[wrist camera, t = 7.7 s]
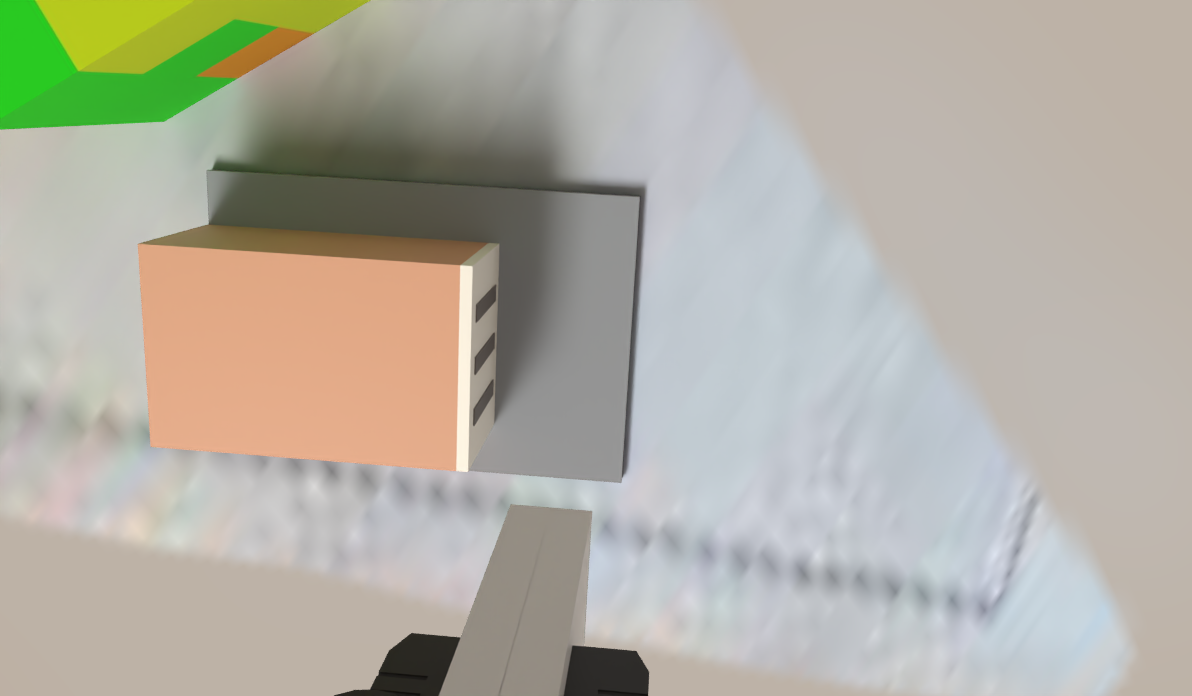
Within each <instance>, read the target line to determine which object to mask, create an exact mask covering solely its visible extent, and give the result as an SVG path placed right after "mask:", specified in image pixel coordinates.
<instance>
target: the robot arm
mask: <svg viewBox="0 0 1192 696" xmlns="http://www.w3.org/2000/svg"><path fill="white" fill-rule="evenodd" d="M591 521H592V511H585V510H572V509H560V508H548V507H536V506H524V505H512V504H511V505H510V508H509V511H508V513H507V516H506V519H505V521H504V524H503V526H502V529H501V532H500V534H499V537H498V540H497V542H496V545H495V548H494V550H493V553H492V556H491V558H490V561H489V564H488V566H487V569H486V572H485V574H484V577H483V580H482V582H481V585H480V588H479V590H478V593H477V596H476V598H475V601H474V604H473V606H472V609H471V611H470V614H469V617H468V619H467V622H466V625H465V627H464V630H463V633H462V635H461V638H459V637H448V636H437V635H425V634H414V633H411V634H410V635H408V636H407V637H406V638H405V639H403V640H402V641H401V642H400V643H398V644H397V645H396V646H395V647H393V648H392V649H391V650H389V652H388V654H387V656H386V658H385V660H384V662H383V664H382V667H381V668H380V670H379V675H378V676H377V677H376V679H375V681H374V683H373V685H372V687H371V689H370V690H353V691H350V692H346V693H342V694H338V695H335V696H648V684H649V671H648V669H647V668H646V666H645V665H644V663H643V661H642V660H641V658H640V656H639V655H638V653H637V651H629V650H618V649H607V648H596V647H585V646H584V639H585V622H586V605H587V589H588V572H589V555H590V538H591Z"/></svg>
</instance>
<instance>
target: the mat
mask: <svg viewBox="0 0 1192 696" xmlns="http://www.w3.org/2000/svg"><path fill="white" fill-rule="evenodd" d="M206 171H207V193H208V215H209V225H223V226H238V227H254V228H269V229H284V230H300V231H315V232H330V233H346V234H361V235H376V236H392V237H407V238H422V239H438V240H453V241H468V242H483V243H499V277H498V311H497V346H496V380H495V414H494V425H493V427H492V429H491V431H490V433H489V435H488V436H487V438H486V440H485V442H484V444H483V446H482V447H481V449H480V451H479V453H478V455H477V456H476V458H475V460H474V462H473V464H472V466H471V467H470V469H469V471H478V472H491V473H504V474H516V475H529V476H541V477H554V478H566V479H579V480H592V481H604V482H617V483H621V481H622V467H623V452H624V436H625V421H626V405H627V390H628V375H629V359H630V344H631V328H632V313H633V297H634V282H635V266H636V251H637V235H638V220H639V205H640V196H629V195H613V194H597V193H581V192H565V191H548V190H532V189H516V188H500V187H484V186H467V185H451V184H435V183H419V182H403V181H387V180H370V179H354V178H338V177H322V176H306V175H290V174H273V173H257V172H241V171H225V170H206Z"/></svg>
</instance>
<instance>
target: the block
mask: <svg viewBox="0 0 1192 696" xmlns="http://www.w3.org/2000/svg"><path fill="white" fill-rule="evenodd" d="M138 254H139V269H140V285H141V301H142V316H143V332H144V348H145V363H146V379H147V395H148V410H149V426H150V442H151V447H160V448H173V449H185V450H198V451H210V452H223V453H235V454H248V455H261V456H273V457H286V458H298V459H311V460H323V461H336V462H349V463H361V464H374V465H386V466H399V467H412V468H424V469H437V470H449V471H462V472H468V471H469V469H470V467H471V466H472V464H473V462H474V460H475V458H476V456H477V455H478V453H479V451H480V449H481V447H482V446H483V444H484V442H485V440H486V438H487V436H488V435H489V433H490V431H491V429H492V427H493V425H494V414H495V380H496V346H497V311H498V277H499V243H483V242H468V241H453V240H438V239H422V238H407V237H392V236H376V235H361V234H346V233H330V232H315V231H300V230H284V229H269V228H254V227H238V226H223V225H205V226H201V227H197V228H194V229H190V230H187V231H183V232H179V233H176V234H172V235H168V236H165V237H161V238H157V239H154V240H150V241H146V242H143V243H139V244H138Z"/></svg>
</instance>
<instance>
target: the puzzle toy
mask: <svg viewBox="0 0 1192 696" xmlns="http://www.w3.org/2000/svg"><path fill="white" fill-rule="evenodd" d="M368 1H370V0H0V129H20V128H41V127H61V126H82V125H103V124H124V123H145V122H164V121H166V120H168V119H169V118H171V117H173V116H174V115H176V114H178V113H179V112H181V111H183V110H185V109H186V108H188V107H190V106H191V105H193V104H195V103H196V102H198V101H200V100H202V99H203V98H205V97H207V96H208V95H210V94H212V93H213V92H215V91H217V90H219V89H220V88H222V87H224V86H225V85H227V84H229V83H231V82H232V81H234V80H236V79H237V78H239V77H241V76H242V75H244V74H246V73H248V72H249V71H251V70H253V69H254V68H256V67H258V66H259V65H261V64H263V63H265V62H266V61H268V60H270V59H271V58H273V57H275V56H276V55H278V54H280V53H282V52H283V51H285V50H287V49H288V48H290V47H292V46H294V45H295V44H297V43H299V42H300V41H302V40H304V39H305V38H307V37H309V36H311V35H312V34H314V33H316V32H317V31H319V30H321V29H322V28H324V27H326V26H328V25H329V24H331V23H333V22H334V21H336V20H338V19H339V18H341V17H343V16H345V15H346V14H348V13H350V12H351V11H353V10H355V9H357V8H358V7H360V6H362V5H363V4H365V3H367V2H368Z"/></svg>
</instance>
